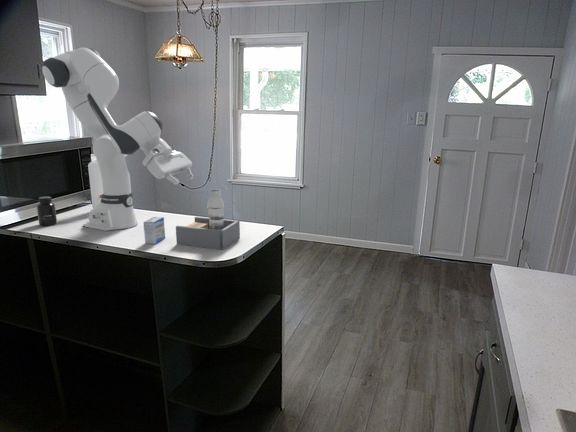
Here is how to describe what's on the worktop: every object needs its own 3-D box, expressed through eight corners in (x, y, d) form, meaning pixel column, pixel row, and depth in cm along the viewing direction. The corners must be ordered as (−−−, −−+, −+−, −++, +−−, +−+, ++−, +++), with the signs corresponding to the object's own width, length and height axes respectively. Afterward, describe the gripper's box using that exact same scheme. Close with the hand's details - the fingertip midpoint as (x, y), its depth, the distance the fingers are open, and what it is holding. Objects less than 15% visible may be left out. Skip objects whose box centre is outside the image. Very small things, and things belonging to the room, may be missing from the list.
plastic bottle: (222, 245, 153) (221, 192, 148) (205, 243, 154) (203, 191, 149) (228, 240, 159) (227, 189, 154) (212, 238, 160) (210, 188, 155)
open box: (176, 244, 153) (175, 226, 151) (196, 233, 167) (196, 216, 165) (223, 249, 148) (222, 231, 146) (239, 237, 162) (239, 220, 160)
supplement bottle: (47, 227, 173) (43, 199, 170) (35, 225, 175) (31, 198, 172) (61, 223, 179) (57, 196, 176) (49, 221, 181) (45, 195, 178)
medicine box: (155, 244, 153) (154, 222, 150) (144, 243, 153) (143, 221, 151) (165, 238, 160) (164, 216, 158) (155, 237, 161) (153, 216, 159)
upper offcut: (181, 235, 155) (181, 227, 154) (194, 229, 163) (194, 222, 163) (195, 237, 153) (195, 229, 152) (207, 231, 161) (207, 223, 161)
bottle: (114, 210, 203) (109, 153, 196) (103, 213, 196) (97, 155, 189) (100, 209, 206) (95, 153, 199) (89, 212, 198) (82, 154, 191)
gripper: (172, 155, 165) (195, 180, 165) (138, 164, 147) (164, 192, 146) (180, 144, 162) (204, 169, 162) (147, 152, 144) (173, 180, 144)
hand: (185, 180), depth 154 cm, fingers open, 8 cm apart
